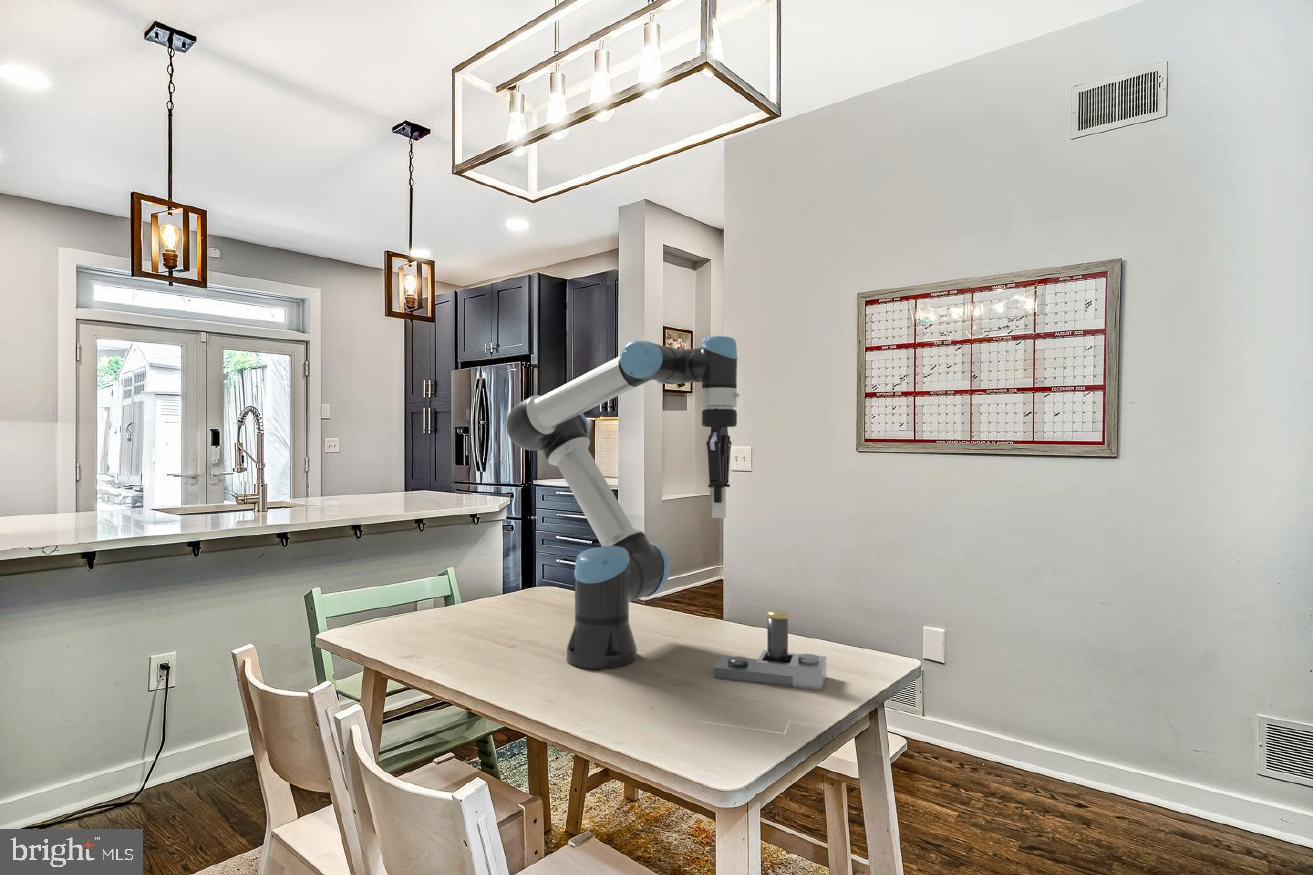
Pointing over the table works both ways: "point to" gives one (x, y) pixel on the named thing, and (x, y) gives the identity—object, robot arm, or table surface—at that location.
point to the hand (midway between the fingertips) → (719, 517)
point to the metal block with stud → (775, 670)
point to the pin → (777, 636)
